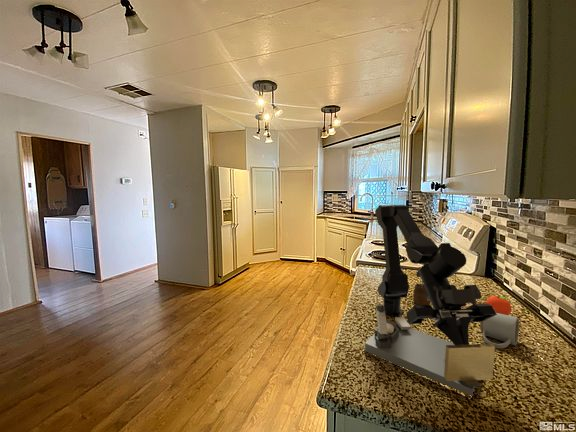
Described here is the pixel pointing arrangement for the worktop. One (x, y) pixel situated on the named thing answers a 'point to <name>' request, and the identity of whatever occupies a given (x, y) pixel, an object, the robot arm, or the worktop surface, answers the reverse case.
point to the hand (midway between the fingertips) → (466, 354)
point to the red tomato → (500, 304)
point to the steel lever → (382, 323)
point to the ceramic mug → (501, 329)
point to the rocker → (402, 323)
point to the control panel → (415, 354)
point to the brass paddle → (469, 363)
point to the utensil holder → (420, 295)
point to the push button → (390, 329)
